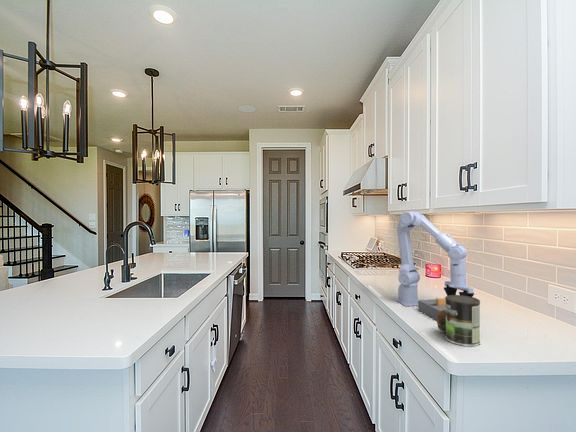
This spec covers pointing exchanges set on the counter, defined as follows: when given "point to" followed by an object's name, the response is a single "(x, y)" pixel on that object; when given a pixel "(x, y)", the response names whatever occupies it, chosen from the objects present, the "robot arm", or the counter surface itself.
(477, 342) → the coffee can
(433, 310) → the dispenser
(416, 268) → the robot arm
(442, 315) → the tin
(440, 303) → the orange rectangular block
